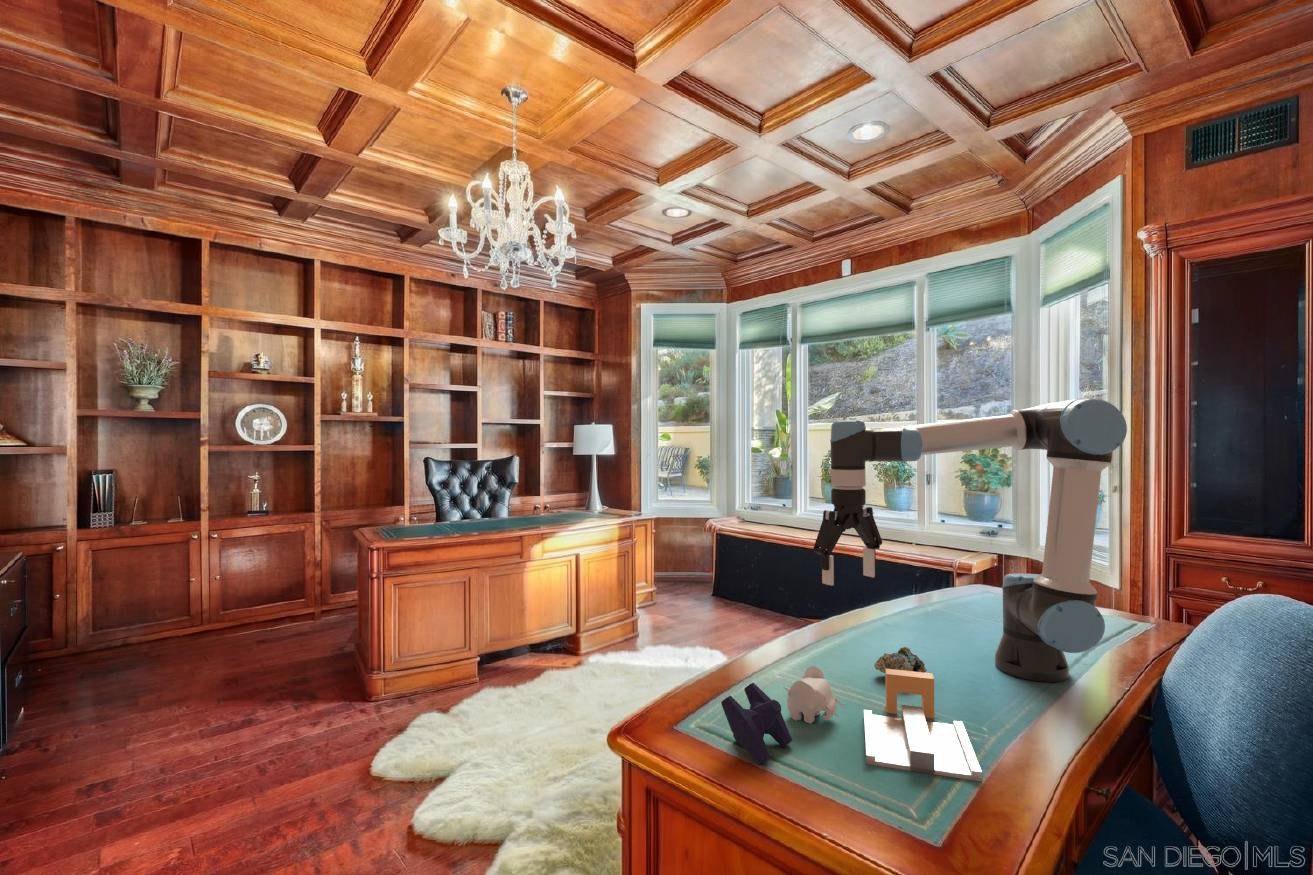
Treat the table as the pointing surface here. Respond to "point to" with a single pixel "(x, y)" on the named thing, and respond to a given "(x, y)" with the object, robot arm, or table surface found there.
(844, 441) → the robot arm
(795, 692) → the elephant figurine
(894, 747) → the rail
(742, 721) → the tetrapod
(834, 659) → the table surface
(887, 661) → the mineral specimen
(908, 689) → the clip
